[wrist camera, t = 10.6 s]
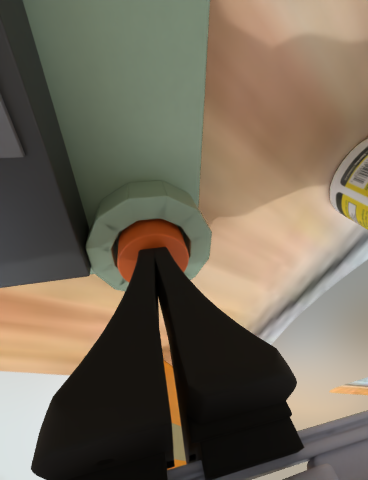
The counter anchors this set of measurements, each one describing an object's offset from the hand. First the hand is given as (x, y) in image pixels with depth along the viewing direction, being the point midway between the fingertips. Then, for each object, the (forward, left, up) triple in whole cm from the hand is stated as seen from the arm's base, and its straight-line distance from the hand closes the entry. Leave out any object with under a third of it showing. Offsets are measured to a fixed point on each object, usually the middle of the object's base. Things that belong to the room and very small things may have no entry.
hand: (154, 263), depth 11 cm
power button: (0, 0, -2) cm, 2 cm away
